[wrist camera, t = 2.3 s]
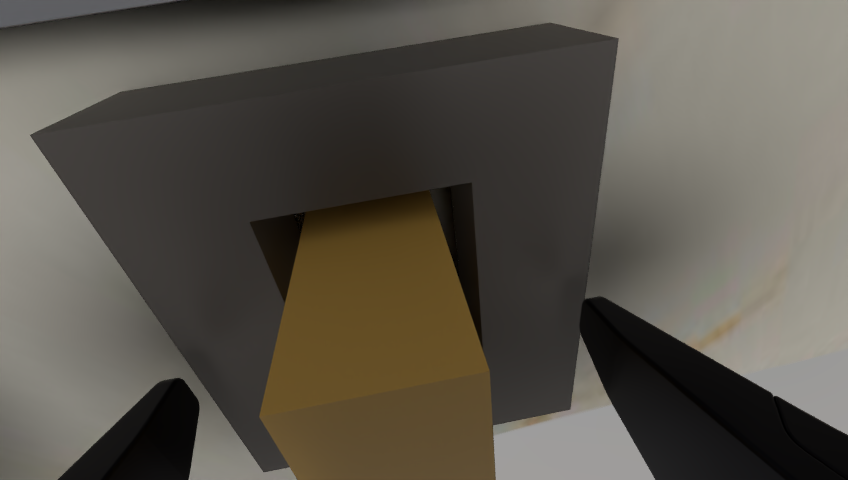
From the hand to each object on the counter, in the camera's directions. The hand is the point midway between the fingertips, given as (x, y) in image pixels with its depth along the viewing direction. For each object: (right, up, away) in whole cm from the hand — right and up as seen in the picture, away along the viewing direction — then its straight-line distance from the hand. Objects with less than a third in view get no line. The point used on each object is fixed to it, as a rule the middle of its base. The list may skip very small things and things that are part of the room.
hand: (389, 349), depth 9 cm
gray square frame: (0, +2, +3) cm, 4 cm away
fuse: (-1, +2, +3) cm, 4 cm away
